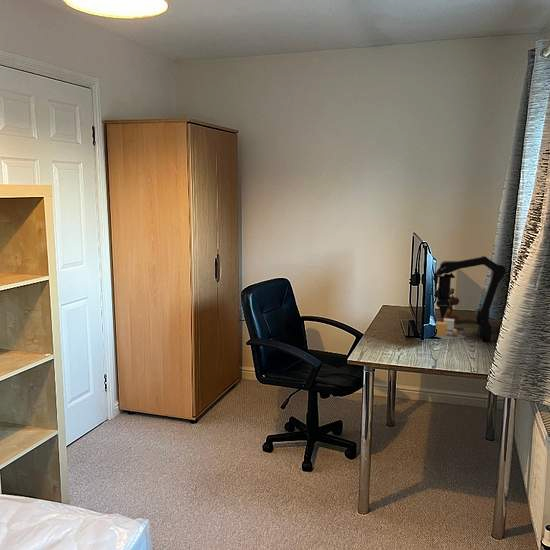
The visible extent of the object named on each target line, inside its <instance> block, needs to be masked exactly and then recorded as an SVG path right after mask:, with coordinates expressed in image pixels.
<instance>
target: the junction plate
mask: <svg viewBox="0 0 550 550" xmlns="http://www.w3.org/2000/svg"><path fill="white" fill-rule="evenodd" d="M435 337H436V338H440V339H442V340H451V339H461V338H466V336H464V335H462V334H459V333H458V328H454V329H453V330H452V331H451V330H447V335H446V336H439V335H437V336H435Z"/></svg>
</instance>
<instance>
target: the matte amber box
mask: <svg viewBox="0 0 550 550" xmlns="http://www.w3.org/2000/svg"><path fill="white" fill-rule="evenodd" d="M436 329H437V334H436V335H439V336H446V335H447V331H448V330H447V322H440V321H436V323H435V330H436Z"/></svg>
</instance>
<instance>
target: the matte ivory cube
mask: <svg viewBox="0 0 550 550" xmlns="http://www.w3.org/2000/svg"><path fill="white" fill-rule="evenodd" d="M444 322H447V331H453V329H455V328H454V327H455V324H454V319H447V318H444Z"/></svg>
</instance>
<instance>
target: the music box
mask: <svg viewBox="0 0 550 550" xmlns="http://www.w3.org/2000/svg"><path fill="white" fill-rule="evenodd" d="M454 294H455V289H454V288H453V287H450V300H449V301H450V304H449V307H448V309H447V311H446V313H445V315H444V317H443V318H441V314H440V315H439V322H444V318H447V319H454V325H456V324H458V323H459V319H460V317H459V316H458V315H457V314H455V313H454V314H453V313H452V312H453V311H454V309H453V308H454V306H456V305H457V306H458V304H459V303H460V298H458V297H455V296H454ZM455 323H456V324H455Z"/></svg>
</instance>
